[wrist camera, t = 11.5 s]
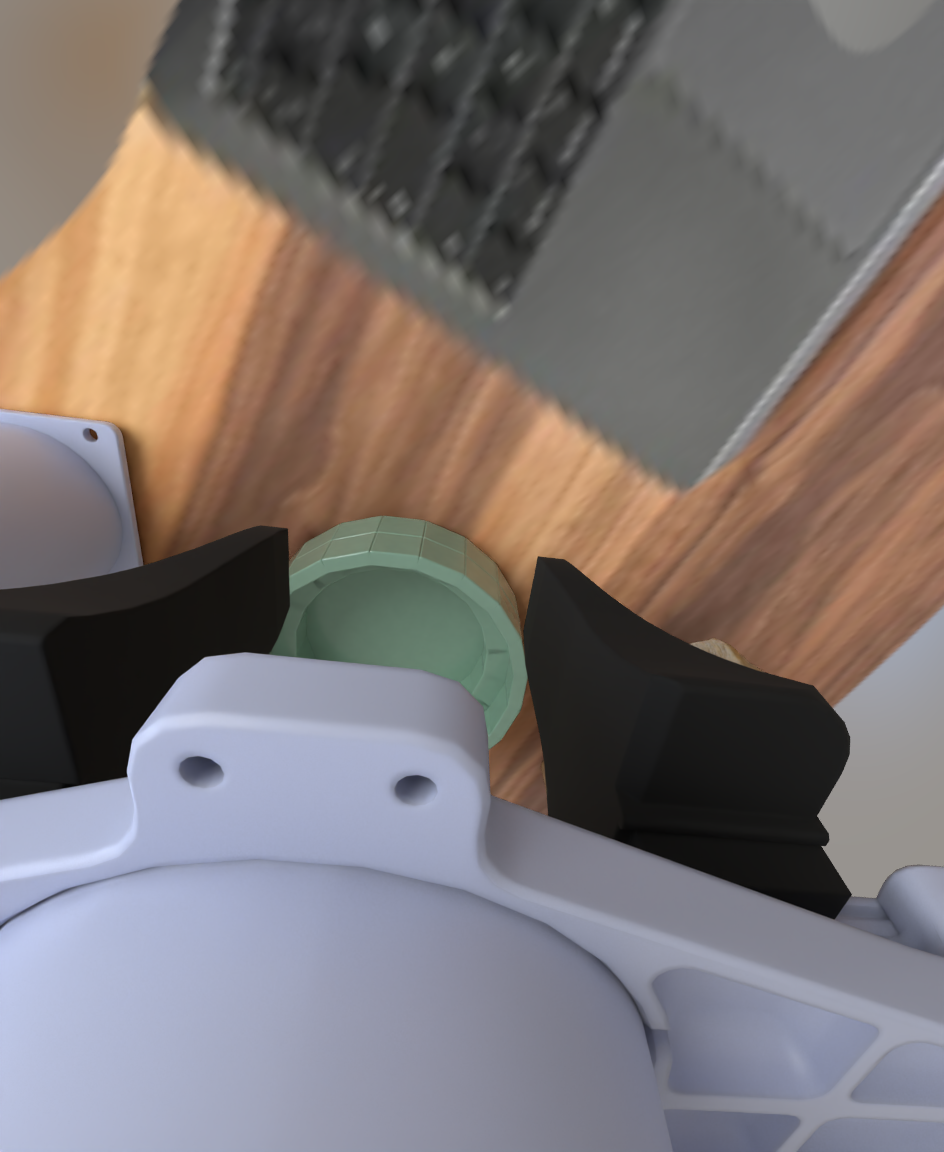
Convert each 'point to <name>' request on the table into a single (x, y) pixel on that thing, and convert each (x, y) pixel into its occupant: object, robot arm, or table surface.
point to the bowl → (409, 609)
